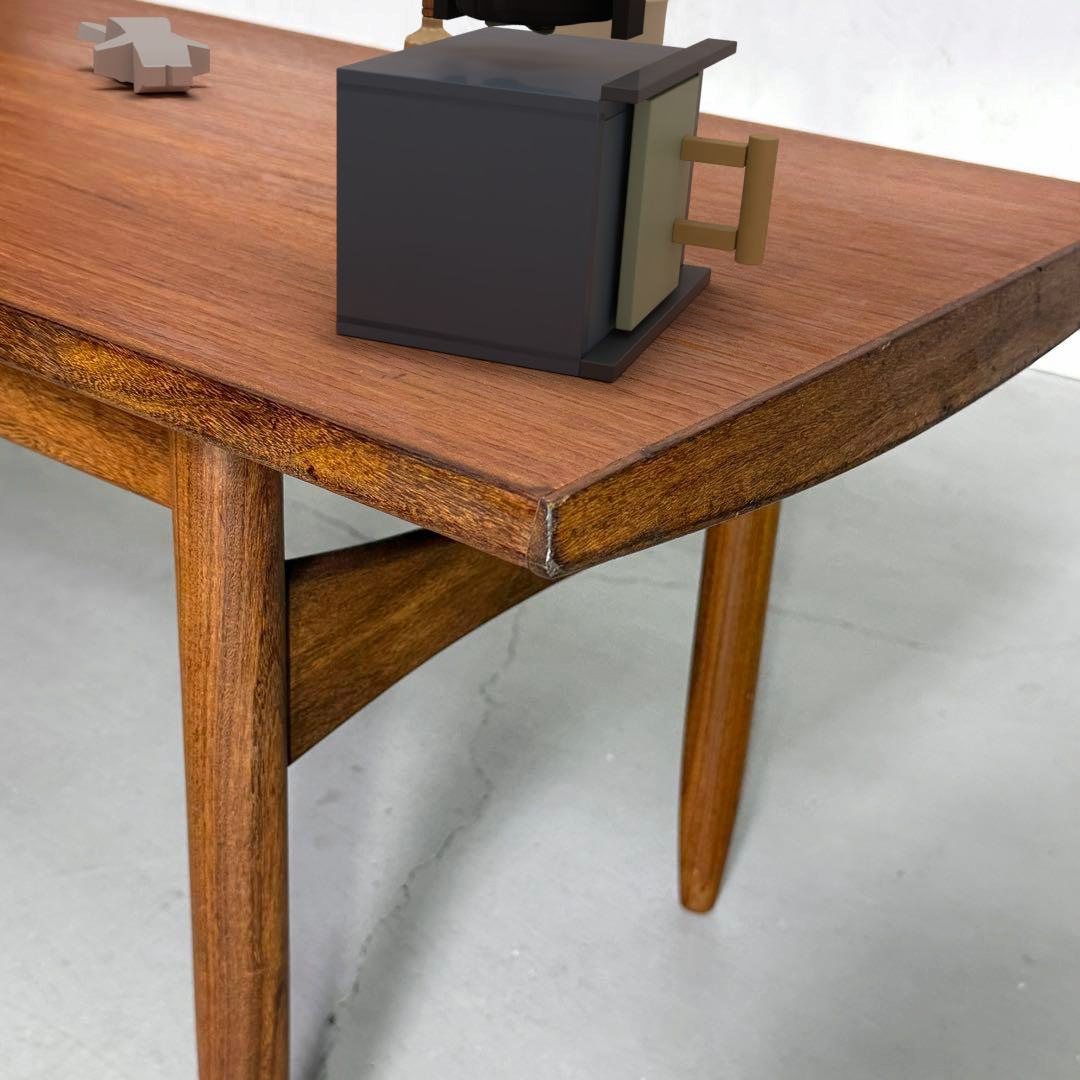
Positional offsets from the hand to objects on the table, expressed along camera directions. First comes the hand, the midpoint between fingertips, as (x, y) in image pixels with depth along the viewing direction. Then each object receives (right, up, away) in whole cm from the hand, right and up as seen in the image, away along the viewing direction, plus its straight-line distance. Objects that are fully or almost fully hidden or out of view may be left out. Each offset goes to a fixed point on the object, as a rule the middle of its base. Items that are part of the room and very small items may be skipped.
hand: (537, 25), depth 70 cm
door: (+7, -13, +2) cm, 15 cm away
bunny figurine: (-33, +14, +56) cm, 67 cm away
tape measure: (0, 0, 0) cm, 0 cm away
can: (+4, +4, +39) cm, 39 cm away
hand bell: (-9, +12, +54) cm, 56 cm away
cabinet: (-1, -12, +6) cm, 13 cm away
